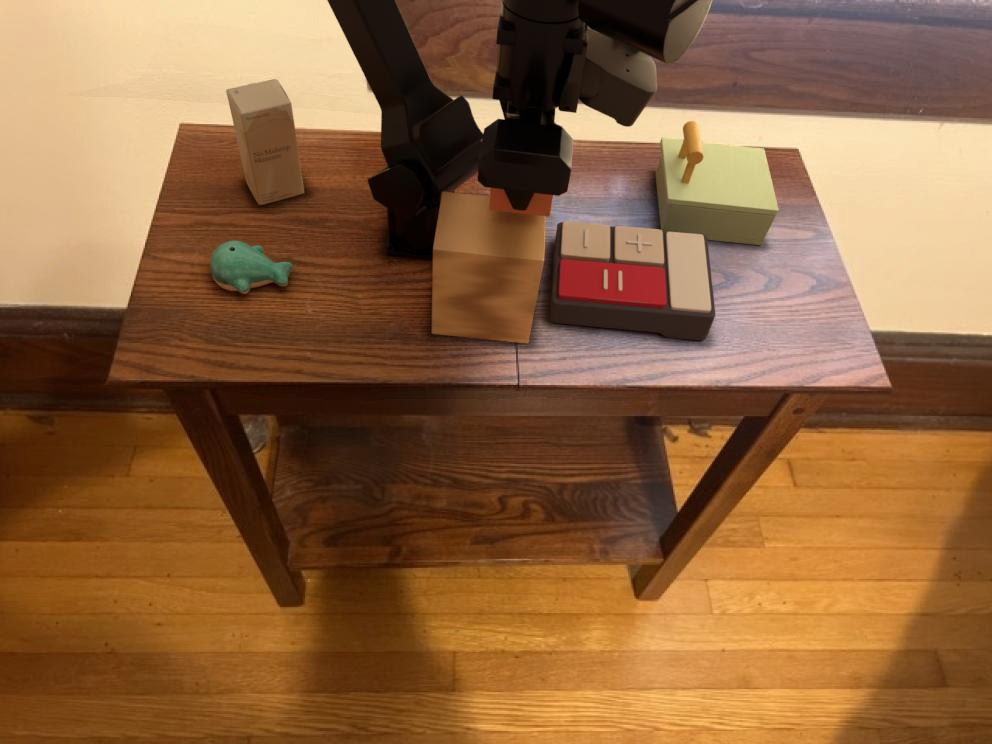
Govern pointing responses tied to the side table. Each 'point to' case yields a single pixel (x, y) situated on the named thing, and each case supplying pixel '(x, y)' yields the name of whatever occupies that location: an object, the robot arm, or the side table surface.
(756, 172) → the lid
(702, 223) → the chest
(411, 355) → the side table surface
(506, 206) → the block
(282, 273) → the whale figurine
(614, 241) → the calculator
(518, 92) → the robot arm
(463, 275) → the stand
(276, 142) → the box
